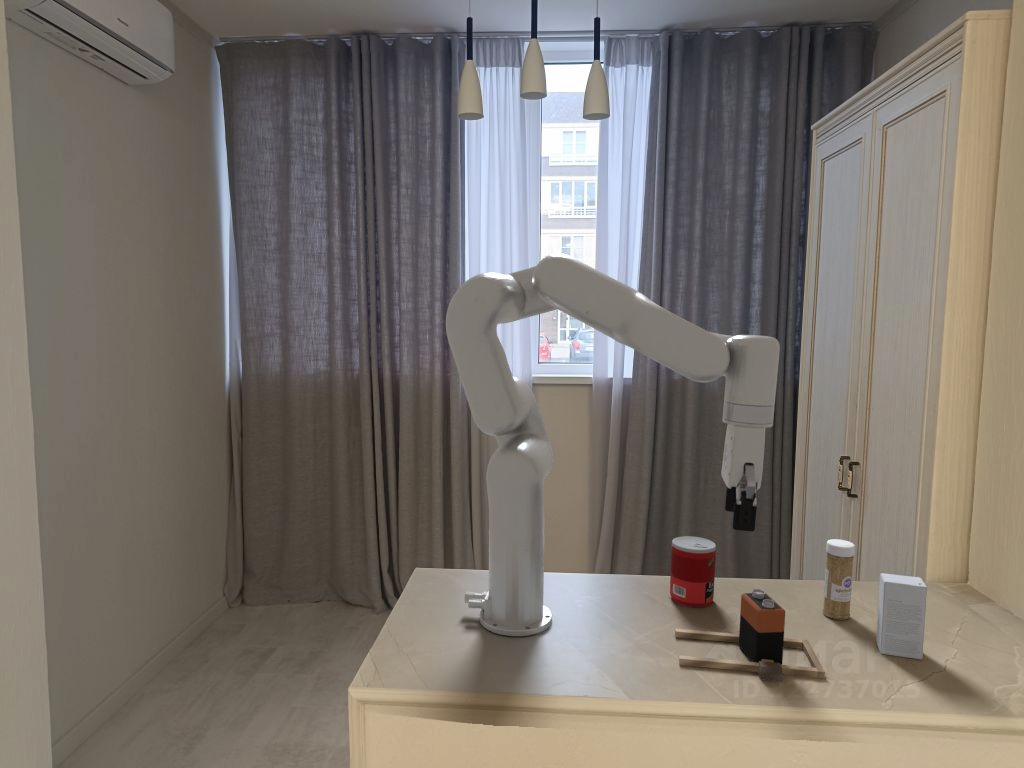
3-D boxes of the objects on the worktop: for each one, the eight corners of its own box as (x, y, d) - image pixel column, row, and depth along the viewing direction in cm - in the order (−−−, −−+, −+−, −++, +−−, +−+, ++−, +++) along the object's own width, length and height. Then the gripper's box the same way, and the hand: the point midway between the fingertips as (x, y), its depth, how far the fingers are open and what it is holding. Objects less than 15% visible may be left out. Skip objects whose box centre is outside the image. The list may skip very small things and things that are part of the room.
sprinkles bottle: (841, 623, 120) (846, 548, 118) (816, 613, 123) (821, 541, 122) (855, 616, 122) (860, 543, 121) (830, 607, 126) (835, 536, 125)
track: (680, 671, 103) (680, 659, 103) (674, 634, 115) (675, 622, 115) (828, 686, 100) (829, 673, 99) (807, 645, 112) (808, 634, 111)
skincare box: (916, 648, 111) (922, 577, 110) (922, 660, 107) (928, 587, 106) (874, 641, 113) (879, 571, 112) (879, 654, 109) (884, 581, 108)
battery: (763, 645, 112) (766, 586, 110) (783, 667, 105) (787, 604, 104) (737, 646, 111) (740, 587, 110) (756, 668, 104) (759, 605, 103)
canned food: (715, 610, 125) (717, 551, 123) (670, 605, 126) (672, 547, 125) (711, 593, 132) (714, 537, 131) (669, 589, 134) (671, 534, 132)
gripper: (717, 405, 116) (709, 503, 118) (730, 421, 100) (720, 535, 102) (763, 408, 115) (754, 507, 117) (784, 425, 98) (773, 541, 100)
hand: (738, 520), depth 109 cm, fingers open, 9 cm apart
